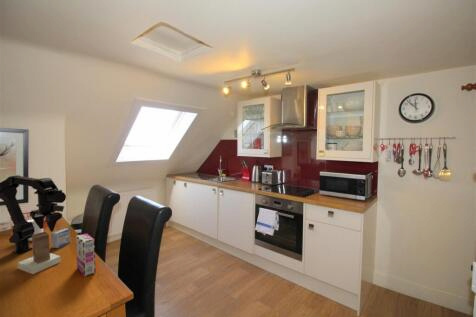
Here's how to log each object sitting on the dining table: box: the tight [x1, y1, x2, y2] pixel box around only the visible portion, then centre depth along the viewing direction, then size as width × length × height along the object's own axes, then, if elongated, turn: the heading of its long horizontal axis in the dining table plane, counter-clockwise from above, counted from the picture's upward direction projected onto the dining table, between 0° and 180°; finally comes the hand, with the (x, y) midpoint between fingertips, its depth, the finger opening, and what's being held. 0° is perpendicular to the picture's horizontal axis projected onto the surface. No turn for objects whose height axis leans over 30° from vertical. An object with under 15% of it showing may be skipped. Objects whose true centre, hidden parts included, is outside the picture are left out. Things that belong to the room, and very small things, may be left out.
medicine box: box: [50, 228, 71, 249], centre depth 139 cm, size 8×4×9 cm, turn 168°
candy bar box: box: [75, 233, 96, 277], centre depth 112 cm, size 11×5×16 cm, turn 49°
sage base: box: [17, 252, 62, 275], centre depth 117 cm, size 12×12×3 cm
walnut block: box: [31, 231, 51, 264], centre depth 116 cm, size 5×5×13 cm
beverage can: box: [26, 218, 44, 242], centre depth 147 cm, size 8×8×12 cm
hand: (46, 230), depth 128 cm, fingers open, 9 cm apart
